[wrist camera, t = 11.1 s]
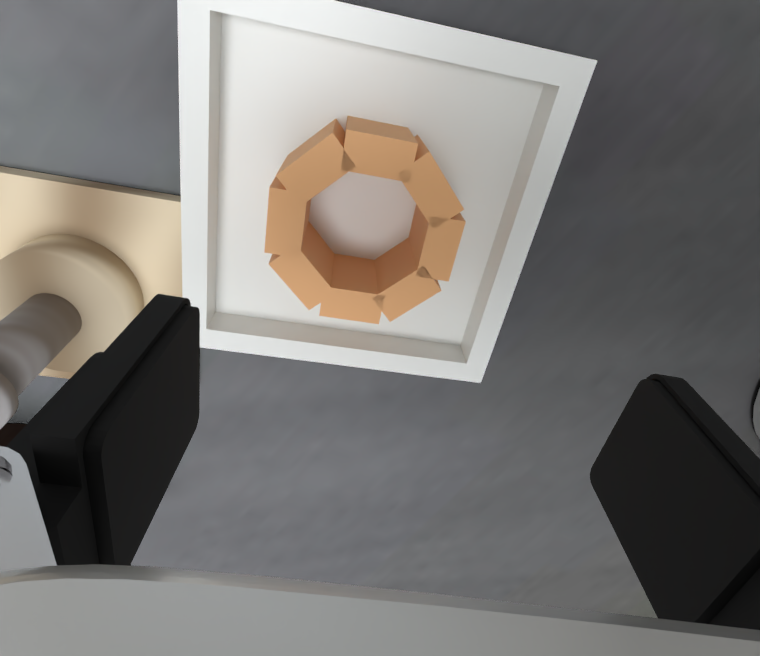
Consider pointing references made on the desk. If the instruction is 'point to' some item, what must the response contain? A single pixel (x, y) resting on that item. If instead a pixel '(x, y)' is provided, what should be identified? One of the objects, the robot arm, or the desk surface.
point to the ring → (354, 274)
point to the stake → (76, 270)
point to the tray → (354, 190)
